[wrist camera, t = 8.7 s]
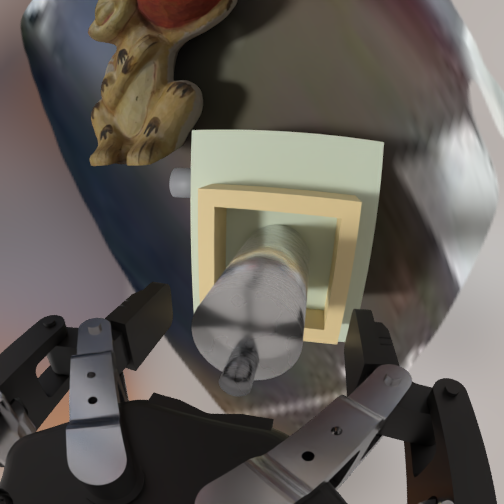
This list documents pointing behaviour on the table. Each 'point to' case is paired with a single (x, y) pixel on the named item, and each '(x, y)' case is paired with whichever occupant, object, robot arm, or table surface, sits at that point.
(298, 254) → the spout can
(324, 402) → the table surface
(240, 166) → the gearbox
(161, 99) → the figurine
